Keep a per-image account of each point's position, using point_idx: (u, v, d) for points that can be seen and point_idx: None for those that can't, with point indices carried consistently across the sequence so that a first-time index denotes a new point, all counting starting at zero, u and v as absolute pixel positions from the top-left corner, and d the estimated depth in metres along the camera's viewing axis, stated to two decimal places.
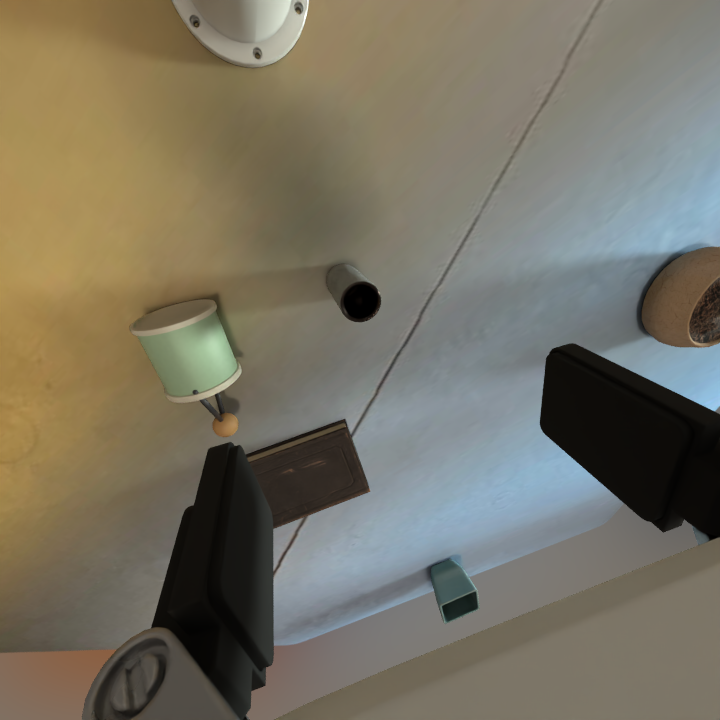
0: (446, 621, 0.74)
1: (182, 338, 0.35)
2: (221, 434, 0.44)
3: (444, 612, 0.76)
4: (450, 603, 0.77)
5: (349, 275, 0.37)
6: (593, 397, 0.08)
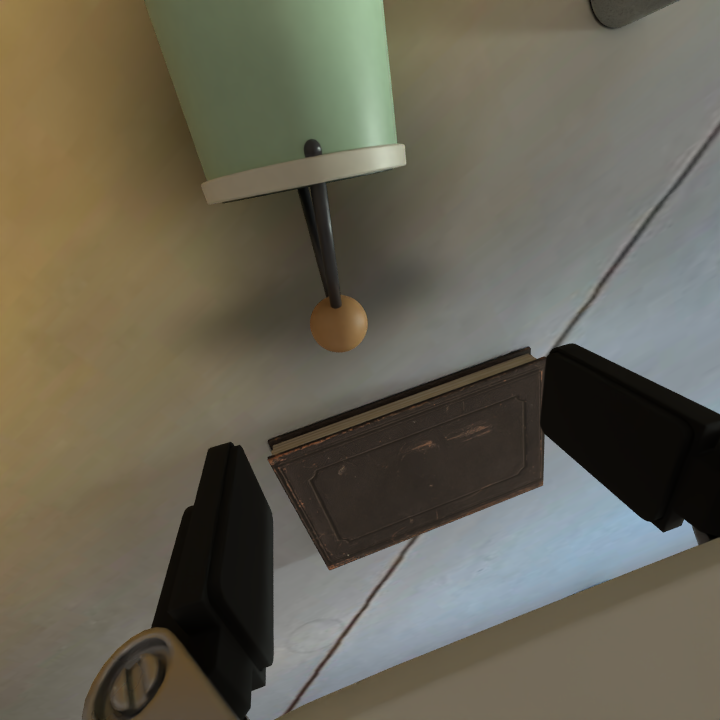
0: None
1: None
2: (336, 341, 0.18)
3: None
4: None
5: None
6: (593, 397, 0.08)
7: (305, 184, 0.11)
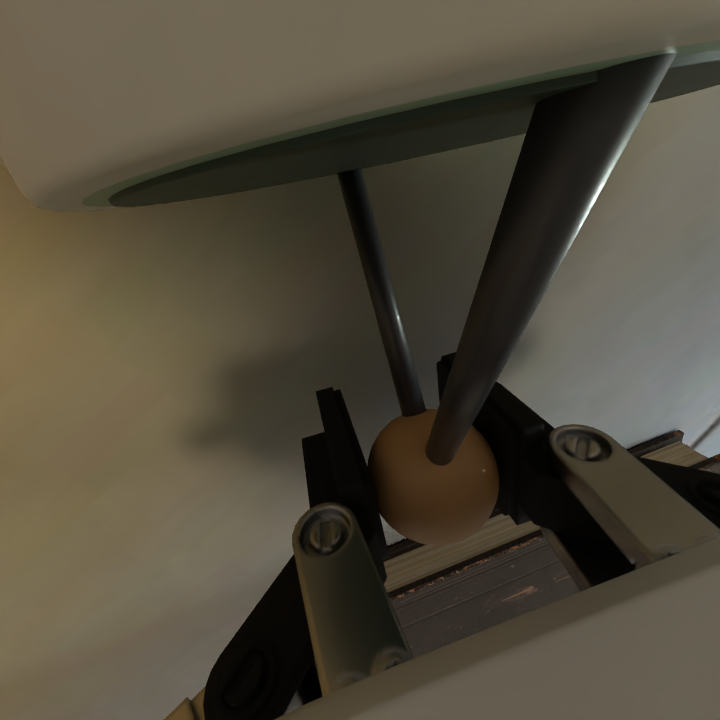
0: None
1: None
2: (439, 539, 0.07)
3: None
4: None
5: None
6: None
7: (661, 18, 0.01)
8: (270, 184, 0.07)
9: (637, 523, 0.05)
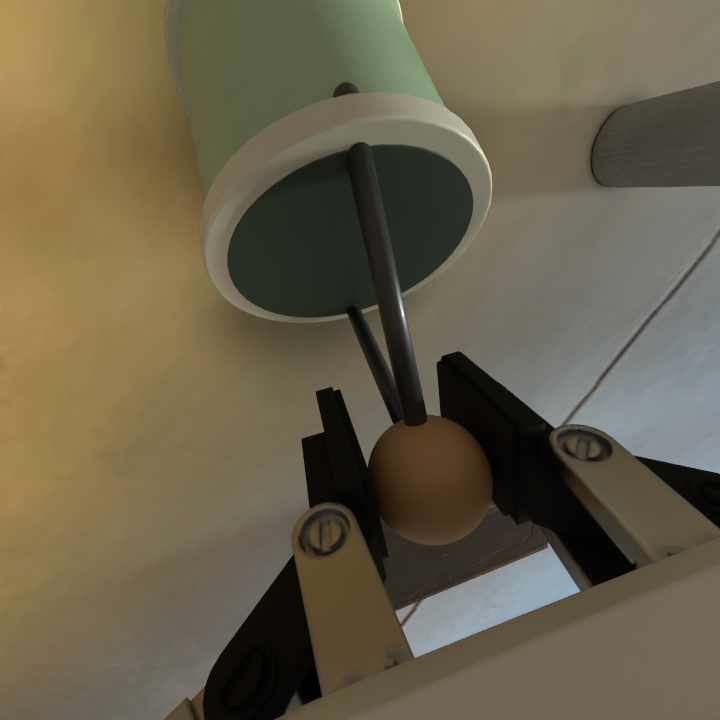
0: None
1: None
2: (427, 497, 0.07)
3: None
4: None
5: None
6: (464, 402, 0.09)
7: (334, 125, 0.07)
8: (303, 303, 0.13)
9: (638, 523, 0.05)
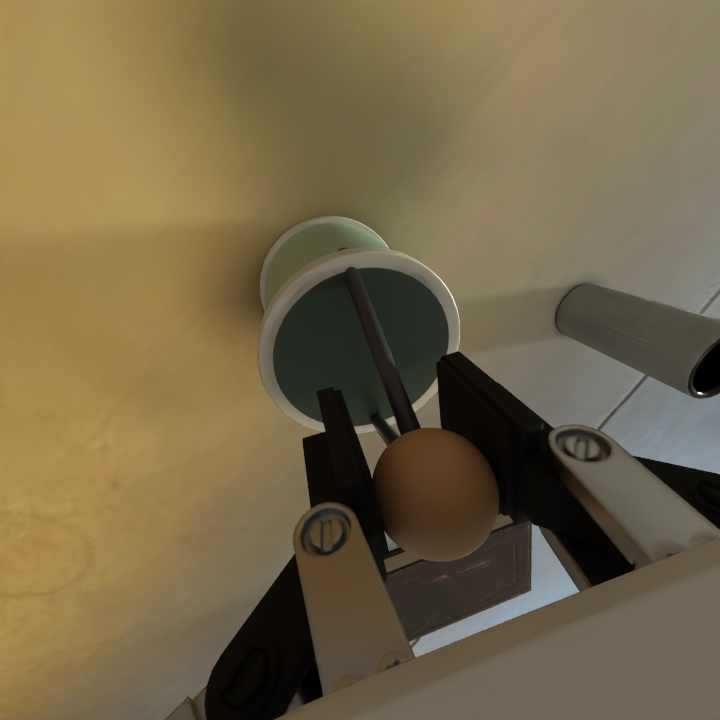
0: None
1: (342, 226, 0.19)
2: (416, 467, 0.08)
3: None
4: None
5: (673, 311, 0.21)
6: (463, 402, 0.09)
7: (334, 258, 0.12)
8: None
9: (636, 523, 0.05)
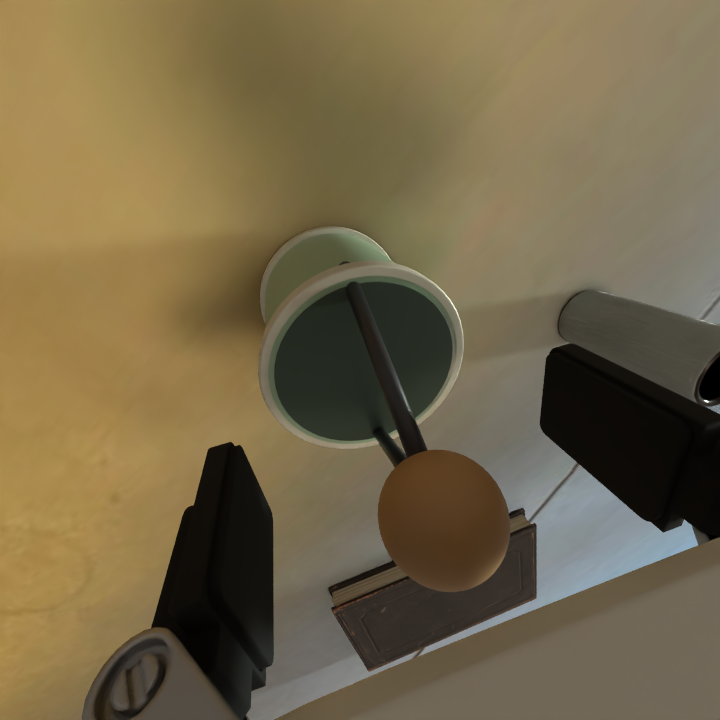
0: None
1: (342, 237, 0.18)
2: (425, 494, 0.07)
3: None
4: None
5: (677, 318, 0.20)
6: (593, 397, 0.08)
7: (336, 273, 0.12)
8: (333, 421, 0.15)
9: None
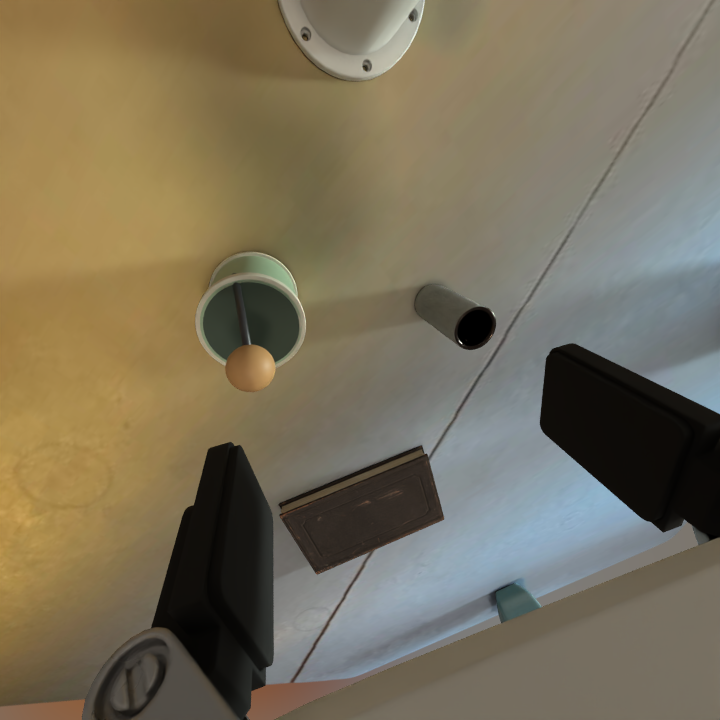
0: None
1: (251, 258, 0.33)
2: (235, 353, 0.21)
3: None
4: None
5: (456, 299, 0.35)
6: (593, 397, 0.08)
7: (226, 278, 0.26)
8: None
9: None
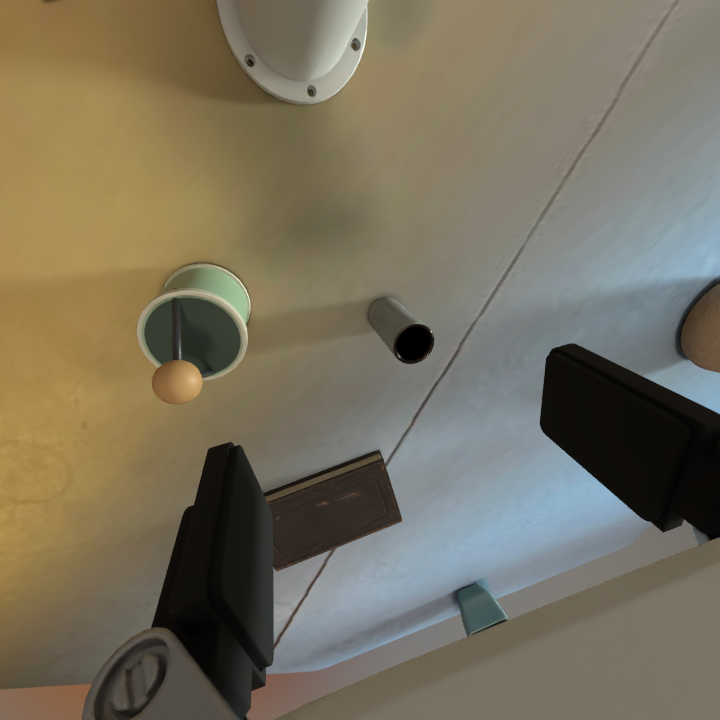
0: None
1: (201, 270, 0.34)
2: (160, 369, 0.23)
3: None
4: None
5: (399, 314, 0.36)
6: (593, 397, 0.08)
7: (165, 294, 0.28)
8: None
9: None
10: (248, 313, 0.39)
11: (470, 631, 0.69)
